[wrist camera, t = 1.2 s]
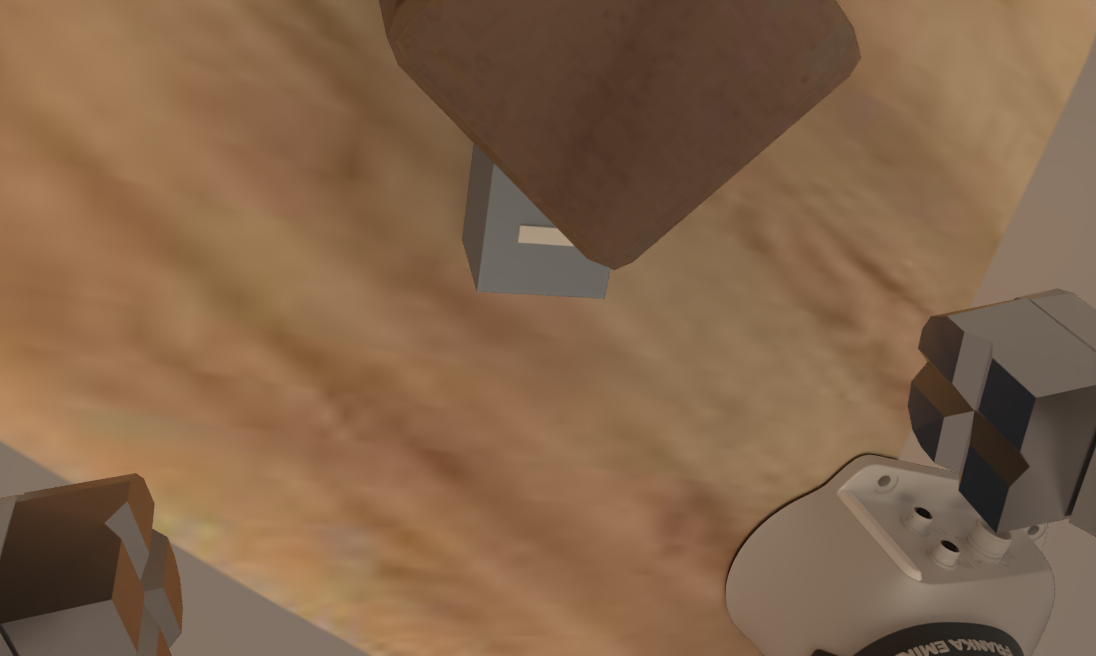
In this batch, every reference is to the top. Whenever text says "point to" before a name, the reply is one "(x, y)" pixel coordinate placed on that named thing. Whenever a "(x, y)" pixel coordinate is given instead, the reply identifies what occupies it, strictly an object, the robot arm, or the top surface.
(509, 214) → the cube seven
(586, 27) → the wooden block
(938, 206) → the top surface
